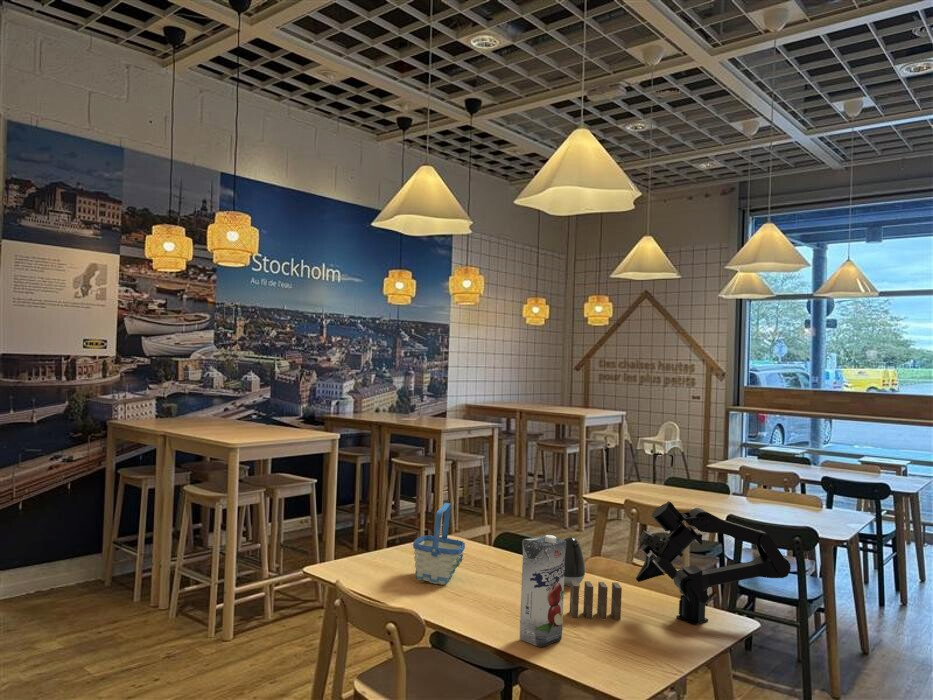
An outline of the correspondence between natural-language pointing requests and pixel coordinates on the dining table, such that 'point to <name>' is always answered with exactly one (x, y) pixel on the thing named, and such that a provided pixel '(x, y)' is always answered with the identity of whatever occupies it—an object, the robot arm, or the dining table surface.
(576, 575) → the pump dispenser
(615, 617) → the domino
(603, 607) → the domino
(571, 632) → the dining table surface
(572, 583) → the domino
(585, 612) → the domino
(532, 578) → the juice carton
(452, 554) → the basket
